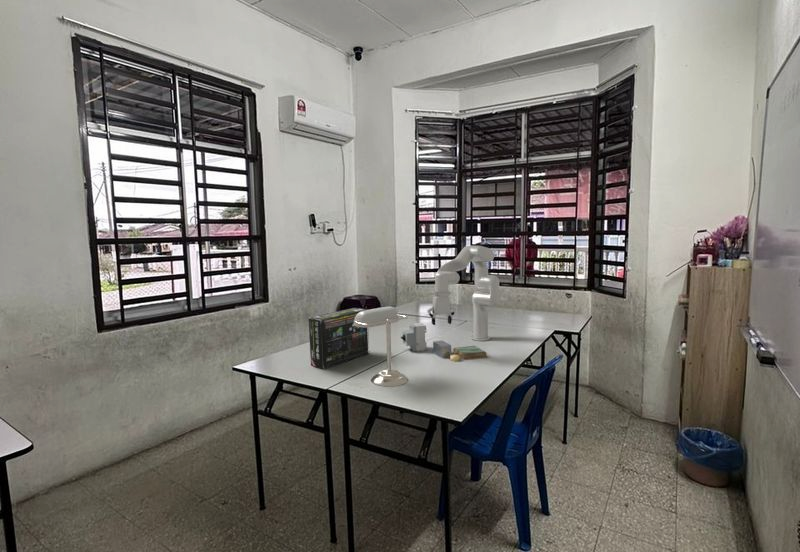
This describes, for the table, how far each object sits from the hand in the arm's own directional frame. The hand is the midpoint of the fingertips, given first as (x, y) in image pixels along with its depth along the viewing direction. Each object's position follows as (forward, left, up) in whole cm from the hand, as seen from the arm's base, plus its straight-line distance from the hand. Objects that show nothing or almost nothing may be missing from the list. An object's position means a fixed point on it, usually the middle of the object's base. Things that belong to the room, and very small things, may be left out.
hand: (441, 324), depth 238 cm
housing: (0, 0, -18) cm, 18 cm away
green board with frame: (+5, +15, -18) cm, 24 cm away
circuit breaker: (-16, -12, -18) cm, 27 cm away
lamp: (+26, -41, -18) cm, 52 cm away
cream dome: (+11, +3, -18) cm, 22 cm away
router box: (-11, -57, -18) cm, 61 cm away
